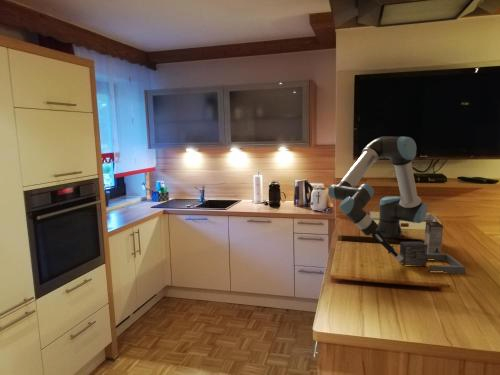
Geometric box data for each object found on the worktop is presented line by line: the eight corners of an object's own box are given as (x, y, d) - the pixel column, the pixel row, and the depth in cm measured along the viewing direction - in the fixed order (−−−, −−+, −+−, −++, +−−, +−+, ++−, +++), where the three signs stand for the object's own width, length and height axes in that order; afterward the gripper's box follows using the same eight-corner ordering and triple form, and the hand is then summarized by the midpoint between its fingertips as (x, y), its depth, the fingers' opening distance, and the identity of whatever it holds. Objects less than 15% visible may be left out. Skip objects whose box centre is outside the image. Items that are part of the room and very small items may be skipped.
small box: (420, 261, 184) (421, 240, 182) (426, 266, 177) (428, 245, 176) (398, 261, 184) (399, 241, 182) (404, 266, 177) (405, 245, 176)
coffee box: (423, 250, 201) (425, 220, 198) (436, 251, 199) (438, 221, 197) (427, 256, 192) (430, 225, 189) (441, 256, 191) (443, 226, 188)
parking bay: (416, 258, 188) (416, 253, 187) (447, 259, 186) (448, 253, 186) (430, 272, 170) (430, 266, 169) (465, 273, 169) (465, 267, 168)
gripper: (357, 226, 184) (390, 260, 185) (363, 233, 171) (398, 270, 172) (369, 216, 183) (402, 250, 184) (375, 222, 170) (411, 259, 171)
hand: (400, 259), depth 178 cm, fingers closed
